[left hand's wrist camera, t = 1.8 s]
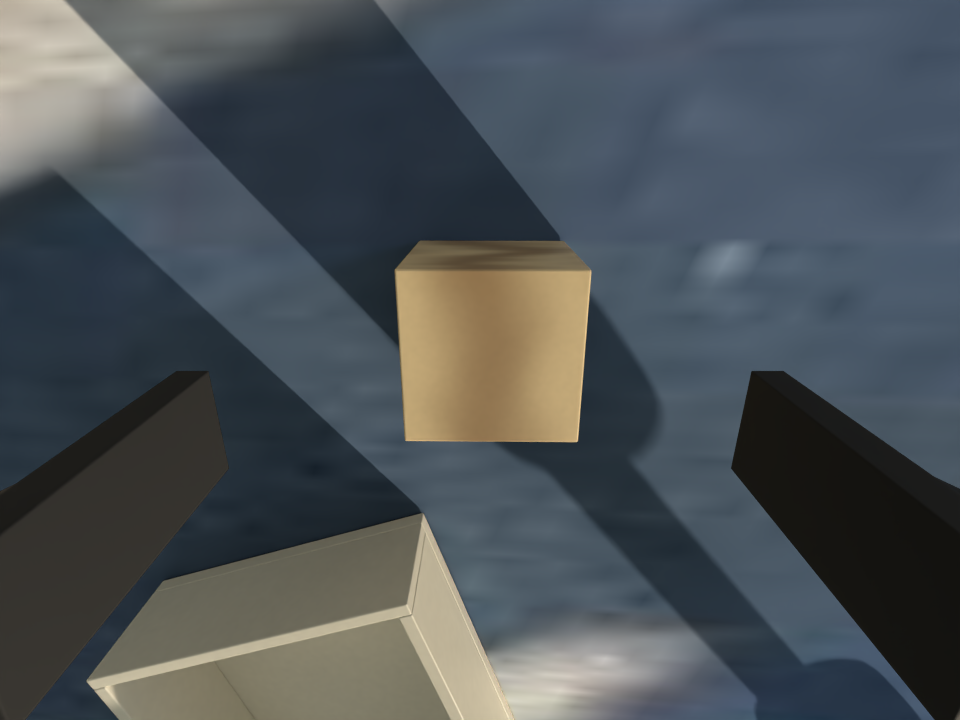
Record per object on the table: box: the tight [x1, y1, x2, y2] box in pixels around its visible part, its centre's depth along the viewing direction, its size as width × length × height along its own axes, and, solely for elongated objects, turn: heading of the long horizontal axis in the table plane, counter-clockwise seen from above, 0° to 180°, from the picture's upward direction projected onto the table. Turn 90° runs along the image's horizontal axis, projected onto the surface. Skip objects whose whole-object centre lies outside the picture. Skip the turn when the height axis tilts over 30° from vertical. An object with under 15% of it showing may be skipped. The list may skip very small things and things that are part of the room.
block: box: [395, 241, 591, 442], centre depth 19 cm, size 6×6×6 cm
